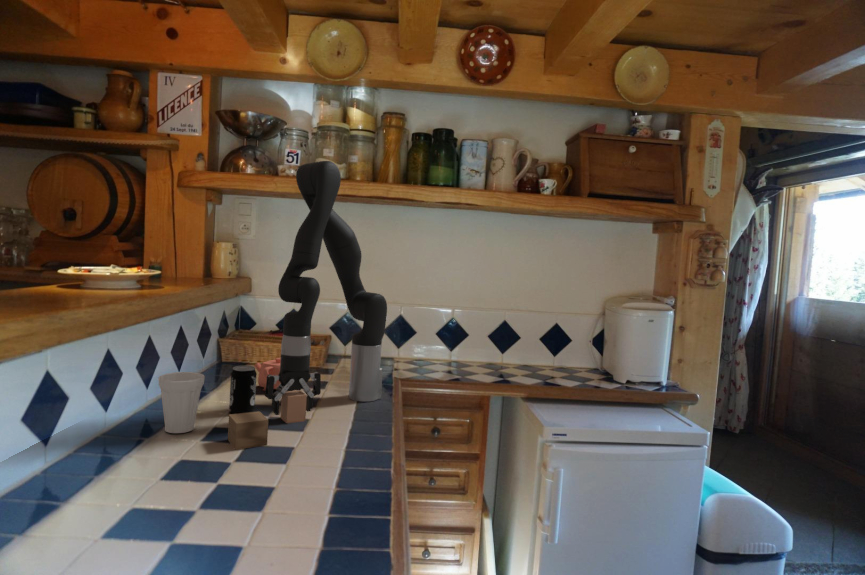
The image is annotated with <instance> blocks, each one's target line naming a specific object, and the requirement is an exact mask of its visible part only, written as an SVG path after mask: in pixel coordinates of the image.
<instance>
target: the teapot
mask: <svg viewBox="0 0 865 575" xmlns="http://www.w3.org/2000/svg"><path fill="white" fill-rule="evenodd" d="M280 361H281V357H276V358H275V359H271V360H270V359H269V360H267V361H264V362H262V363H260V362H256V363H255V364H254V366H253V367H255V370H257V372H258V377H257V384H258V386H259V387H262V391H264V392H265V390H266V382H267V376H268V375H269V374H271V375H279V373H280ZM279 385H280V381H279V380H277V381H276V383H275V384H274V388H273V390H276V389H277V387H278V386H279Z"/></svg>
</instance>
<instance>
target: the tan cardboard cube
mask: <svg viewBox="0 0 865 575" xmlns="http://www.w3.org/2000/svg"><path fill="white" fill-rule="evenodd" d="M280 399H281V400H280V419H281V420H282V421H283V422H285V423H286V424H293V423H301V422H305V421H306V415H307V414H306V413H307V411H306V399H307V394H306V393H305V392H303V391H302V390H293V391H286V392H285V394H283V395H282V396H281V398H280Z"/></svg>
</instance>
